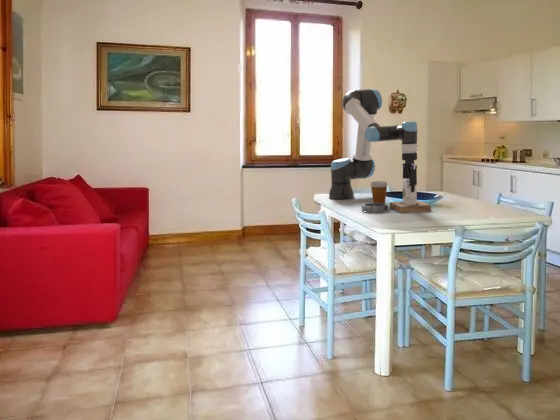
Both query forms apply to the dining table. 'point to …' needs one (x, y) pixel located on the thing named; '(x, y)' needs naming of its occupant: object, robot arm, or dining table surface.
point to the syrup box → (406, 193)
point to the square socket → (410, 207)
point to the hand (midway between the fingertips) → (409, 197)
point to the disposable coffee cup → (379, 191)
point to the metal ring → (374, 207)
